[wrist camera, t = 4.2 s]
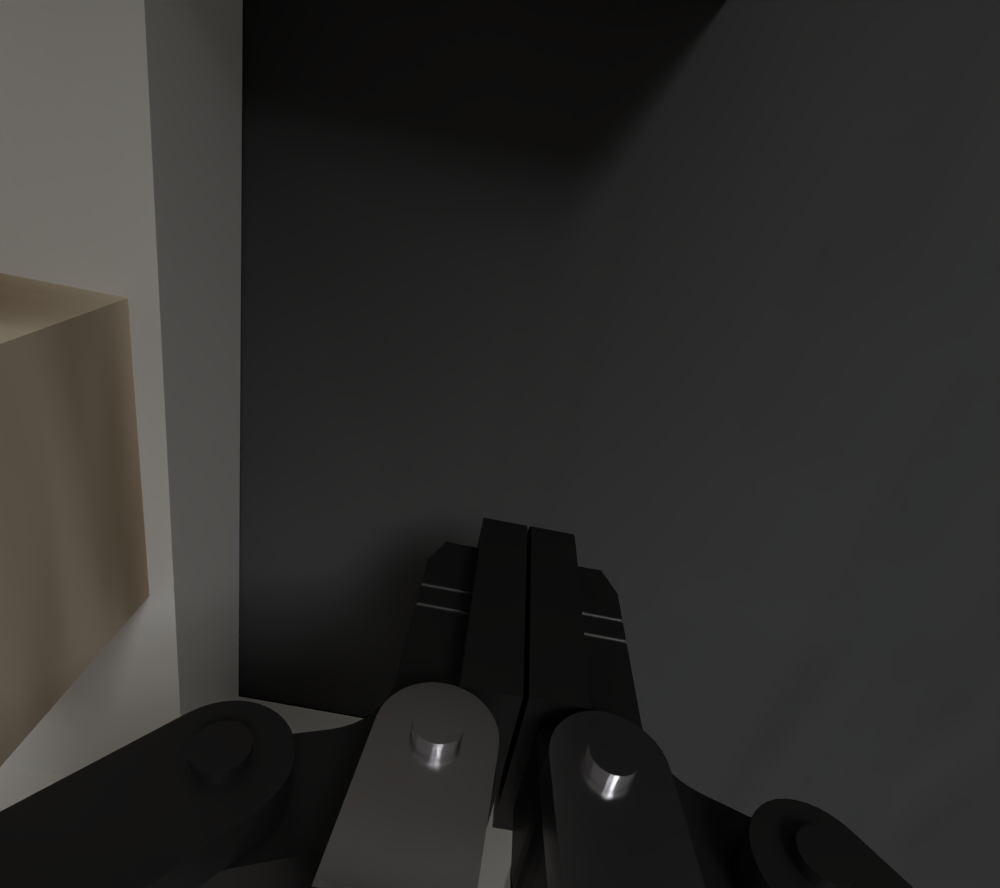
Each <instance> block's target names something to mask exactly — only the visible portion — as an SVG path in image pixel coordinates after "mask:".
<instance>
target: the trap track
mask: <svg viewBox="0 0 1000 888" xmlns="http://www.w3.org/2000/svg"><path fill="white" fill-rule="evenodd" d="M242 22H243V0H0V273H3V274H8V275H13V276H18V277H23V278H28V279H34V280H39V281H44V282H49V283H54V284H59V285H64V286H69V287H74V288H80V289H85V290H90V291H95V292H100V293H105V294H110V295H115V296H121V297H126V298H128V307H129V320H130V334H131V348H132V362H133V376H134V389H135V403H136V417H137V431H138V445H139V458H140V472H141V486H142V500H143V514H144V527H145V541H146V555H147V569H148V583H149V597H148V598H147V599H146V600H145V601H144V603H143V604H142V605H141V606H140V607H139V608H138V609H137V611H136V612H135V613H134V614H133V615H132V616H131V618H130V619H129V620H128V621H127V622H126V623H125V624H124V626H123V627H122V628H121V629H120V630H119V631H118V632H117V634H116V635H115V636H114V637H113V638H112V639H111V640H110V642H109V643H108V644H107V645H106V646H105V647H104V649H103V650H102V651H101V652H100V653H99V654H98V655H97V657H96V658H95V659H94V660H93V661H92V662H91V663H90V665H89V666H88V667H87V668H86V669H85V670H84V672H83V673H82V674H81V675H80V676H79V677H78V678H77V680H76V681H75V682H74V683H73V684H72V685H71V686H70V688H69V689H68V690H67V691H66V692H65V693H64V694H63V696H62V697H61V698H60V699H59V700H58V701H57V703H56V704H55V705H54V706H53V707H52V708H51V709H50V711H49V712H48V713H47V714H46V715H45V716H44V717H43V719H42V720H41V721H40V722H39V723H38V724H37V726H36V727H35V728H34V729H33V730H32V731H31V732H30V734H29V735H28V736H27V737H26V738H25V739H24V740H23V742H22V743H21V744H20V745H19V746H18V747H17V748H16V750H15V751H14V752H13V753H12V754H11V755H10V757H9V758H8V759H7V760H6V761H5V762H4V763H3V765H2V766H1V767H0V811H2V810H4V809H6V808H8V807H10V806H12V805H13V804H15V803H17V802H19V801H21V800H23V799H25V798H27V797H29V796H31V795H32V794H34V793H36V792H38V791H40V790H42V789H44V788H46V787H48V786H50V785H51V784H53V783H55V782H57V781H59V780H61V779H63V778H65V777H67V776H69V775H70V774H72V773H74V772H76V771H78V770H80V769H82V768H84V767H86V766H88V765H89V764H91V763H93V762H95V761H97V760H99V759H101V758H103V757H105V756H106V755H108V754H110V753H112V752H114V751H116V750H118V749H120V748H122V747H124V746H125V745H127V744H129V743H131V742H133V741H135V740H137V739H139V738H141V737H143V736H144V735H146V734H148V733H150V732H152V731H154V730H156V729H158V728H160V727H162V726H163V725H165V724H167V723H169V722H171V721H173V720H175V719H177V718H179V717H181V716H182V715H184V714H186V713H188V712H190V711H193V710H195V709H197V708H199V707H202V706H206V705H209V704H212V703H217V702H222V701H235V700H238V701H249V702H254V703H258V704H261V705H264V706H266V707H269V708H270V709H272V710H273V711H275V712H277V713H278V714H279V715H280V716H281V717H282V718H283V719H284V720H285V721H286V722H287V724H288V725H289V727H290V729H291V731H292V734H294V733H302V732H311V731H319V730H328V729H334V728H339V727H343V726H346V725H350V724H353V723H355V722H357V721H359V720H362V719H364V718H358V717H353V716H347V715H341V714H336V713H330V712H325V711H319V710H313V709H308V708H302V707H296V706H291V705H285V704H279V703H274V702H268V701H262V700H257V699H251V698H245V697H240V696H238V695H239V526H240V358H241V190H242ZM493 809H494V804H493V808H492V811H491V815H490V818H489V822H488V826H487V828H486V835H485V842H484V848H483V855H482V862H481V868H480V875H479V881H478V888H504V885H505V881H506V878H507V875H508V872H509V868H510V865H511V857H512V831H510V830H505V829H499V828H493V827H492V825H493Z"/></svg>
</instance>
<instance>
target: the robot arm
mask: <svg viewBox="0 0 1000 888" xmlns="http://www.w3.org/2000/svg"><path fill="white" fill-rule="evenodd" d="M621 620H622V616H621V610H620V605H619V600H618V594H617V592H616V591H615V590H614V588H613V587H612V585H611V584H610V583H609V581H608V580H607V578H606V577H605V576H604V574H603V573H602V571H600V570H595V569H589V568H584V567H579V566H578V565H577V555H576V545H575V537H574V535H573V534H569V533H563V532H558V531H553V530H547V529H542V528H537V527H531V526H530V527H529V529H528V532H527V526H525V525H520V524H514V523H509V522H504V521H498V520H493V519H488V518H484V519H483V523H482V527H481V532H480V537H479V542H478V547H477V548H475V547H470V546H465V545H459V544H454V543H448V542H446V543H445V544H444V545H443V546H442V547H441V548H440V549H438V550H437V551H436V552H435V553H434V554H433V555H432V556H431V557H430V558H429V559H428V562H427V566H426V570H425V573H424V577H423V581H422V586H421V588H420V592H419V596H418V600H417V605H416V607H415V611H414V615H413V619H412V622H411V626H410V630H409V634H408V637H407V641H406V645H405V649H404V653H403V656H402V660H401V664H400V668H399V671H398V675H397V679H396V682H395V685H394V688H393V690H392V692H391V693H390V695H389V697H388V698H387V699H386V701H385V702H384V703H383V704H382V705H381V706H380V707H379V708H378V709H377V710H376V711H374V712H373V713H372V714H370V715H368V716H367V717H365V718H364V719H362V720H359V721H357V722H355V723H353V724H350V725H346V726H343V727H339V728H334V729H328V730H319V731H311V732H302V733H294V734H292V731H291V729H290V727H289V725H288V724H287V722H286V721H285V720H284V719H283V718H282V717H281V716H280V715H279V714H278V713H277V712H275V711H273V710H272V709H270V708H269V707H266V706H264V705H261V704H258V703H254V702H249V701H238V700H235V701H222V702H217V703H212V704H209V705H206V706H202V707H199V708H197V709H195V710H193V711H190V712H188V713H186V714H184V715H182V716H181V717H179V718H177V719H175V720H173V721H171V722H169V723H167V724H165V725H163V726H162V727H160V728H158V729H156V730H154V731H152V732H150V733H148V734H146V735H144V736H143V737H141V738H139V739H137V740H135V741H133V742H131V743H129V744H127V745H125V746H124V747H122V748H120V749H118V750H116V751H114V752H112V753H110V754H108V755H106V756H105V757H103V758H101V759H99V760H97V761H95V762H93V763H91V764H89V765H88V766H86V767H84V768H82V769H80V770H78V771H76V772H74V773H72V774H70V775H69V776H67V777H65V778H63V779H61V780H59V781H57V782H55V783H53V784H51V785H50V786H48V787H46V788H44V789H42V790H40V791H38V792H36V793H34V794H32V795H31V796H29V797H27V798H25V799H23V800H21V801H19V802H17V803H15V804H13V805H12V806H10V807H8V808H6V809H4V810H2V811H0V888H478V881H479V875H480V868H481V862H482V855H483V848H484V842H485V835H486V828H487V826H488V822H489V818H490V815H491V811H492V808H493V804H494V809H493V825H492V827H493V828H499V829H505V830H510V831H512V858H511V865H510V868H509V872H508V875H507V878H506V881H505V885H504V888H913V887H912V886H911V885H910V884H908V883H907V882H906V881H905V880H904V879H903V878H902V877H901V876H900V875H899V874H898V873H896V872H895V871H894V870H893V869H892V868H891V867H890V866H889V865H888V864H887V863H886V862H885V861H883V860H882V859H881V858H880V857H879V856H878V855H877V854H876V853H875V852H874V851H873V850H872V849H870V848H869V847H868V846H867V845H866V844H865V843H864V842H863V841H862V840H861V839H860V838H859V837H857V836H856V835H855V834H854V833H853V832H852V831H851V830H850V829H848V828H847V827H846V826H845V825H844V824H843V823H841V822H840V821H838V820H837V819H836V818H834V817H833V816H831V815H830V814H828V813H826V812H824V811H823V810H821V809H819V808H817V807H815V806H812V805H810V804H808V803H805V802H801V801H797V800H792V799H775V800H771V801H768V802H766V803H764V804H762V805H761V806H760V807H759V808H758V809H757V810H756V811H755V812H754V814H753V816H752V818H751V817H749V816H746V815H744V814H742V813H740V812H738V811H736V810H734V809H732V808H730V807H728V806H726V805H724V804H721V803H719V802H717V801H715V800H713V799H711V798H709V797H707V796H705V795H703V794H701V793H699V792H697V791H695V790H694V789H692V788H690V787H689V786H687V785H686V784H684V783H683V782H681V781H680V780H679V779H678V778H676V777H675V776H674V775H673V774H672V773H671V769H670V767H669V764H668V762H667V759H666V757H665V756H664V754H663V752H662V750H661V749H660V748H659V746H658V745H657V744H656V742H655V741H654V740H653V739H652V738H651V737H650V736H649V735H648V734H647V733H646V732H645V731H643V729H642V725H641V720H640V714H639V709H638V703H637V698H636V692H635V687H634V681H633V676H632V671H631V665H630V660H629V654H628V649H627V644H625V639H626V638H625V632H624V627H623V623H621Z"/></svg>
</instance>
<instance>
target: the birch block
mask: <svg viewBox="0 0 1000 888" xmlns="http://www.w3.org/2000/svg"><path fill="white" fill-rule="evenodd" d="M148 597H149V583H148V569H147V555H146V541H145V527H144V514H143V500H142V486H141V472H140V458H139V445H138V431H137V417H136V403H135V389H134V376H133V362H132V348H131V334H130V320H129V307H128V298H126V297H121V296H115V295H110V294H105V293H100V292H95V291H90V290H85V289H80V288H74V287H69V286H64V285H59V284H54V283H49V282H44V281H39V280H34V279H28V278H23V277H18V276H13V275H8V274H3V273H0V767H1V766H2V765H3V763H4V762H5V761H6V760H7V759H8V758H9V757H10V755H11V754H12V753H13V752H14V751H15V750H16V748H17V747H18V746H19V745H20V744H21V743H22V742H23V740H24V739H25V738H26V737H27V736H28V735H29V734H30V732H31V731H32V730H33V729H34V728H35V727H36V726H37V724H38V723H39V722H40V721H41V720H42V719H43V717H44V716H45V715H46V714H47V713H48V712H49V711H50V709H51V708H52V707H53V706H54V705H55V704H56V703H57V701H58V700H59V699H60V698H61V697H62V696H63V694H64V693H65V692H66V691H67V690H68V689H69V688H70V686H71V685H72V684H73V683H74V682H75V681H76V680H77V678H78V677H79V676H80V675H81V674H82V673H83V672H84V670H85V669H86V668H87V667H88V666H89V665H90V663H91V662H92V661H93V660H94V659H95V658H96V657H97V655H98V654H99V653H100V652H101V651H102V650H103V649H104V647H105V646H106V645H107V644H108V643H109V642H110V640H111V639H112V638H113V637H114V636H115V635H116V634H117V632H118V631H119V630H120V629H121V628H122V627H123V626H124V624H125V623H126V622H127V621H128V620H129V619H130V618H131V616H132V615H133V614H134V613H135V612H136V611H137V609H138V608H139V607H140V606H141V605H142V604H143V603H144V601H145V600H146V599H147V598H148Z"/></svg>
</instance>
